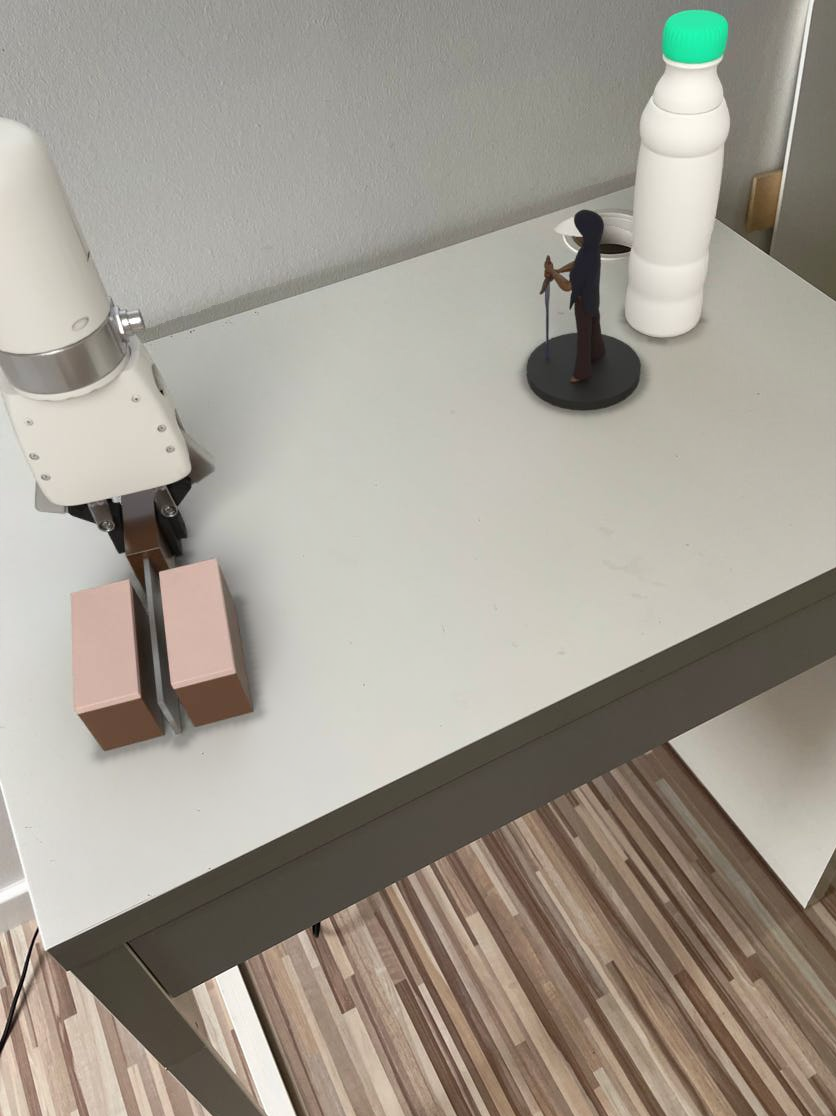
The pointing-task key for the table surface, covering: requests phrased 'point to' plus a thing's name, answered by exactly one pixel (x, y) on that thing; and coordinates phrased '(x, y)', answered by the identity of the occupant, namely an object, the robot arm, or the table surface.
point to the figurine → (582, 333)
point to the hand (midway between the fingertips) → (156, 547)
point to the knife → (151, 586)
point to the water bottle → (678, 178)
